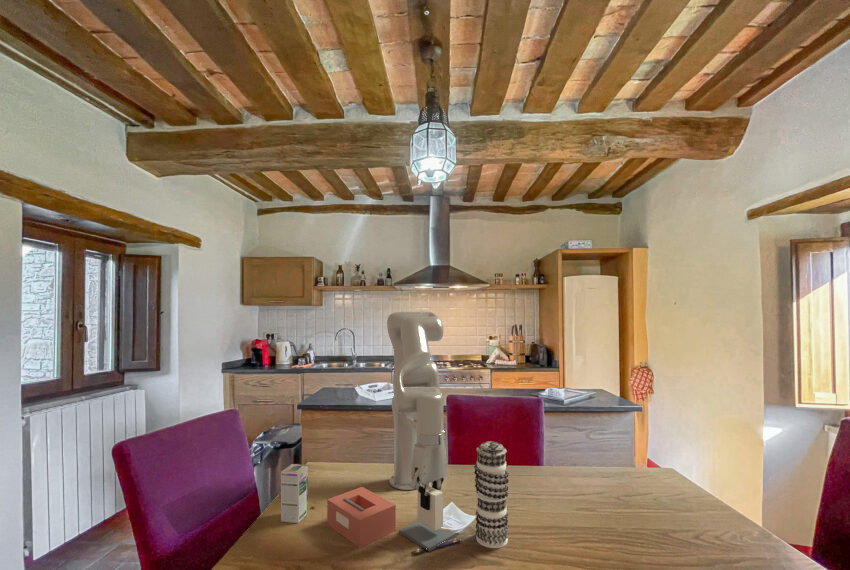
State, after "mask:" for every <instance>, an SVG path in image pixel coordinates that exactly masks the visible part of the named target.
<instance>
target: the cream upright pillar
mask: <svg viewBox="0 0 850 570" xmlns="http://www.w3.org/2000/svg"><path fill="white" fill-rule="evenodd" d="M424 486H425V485H423V488H424ZM428 494H429V495H430V510H426V509H424V508H422V507H421V506H420V493H419V492H418V491H417V503H416V504H417V508H416V509H417V512H416V513H417V516H416V517H417V520H416V521H419V522H421V523H423V524H424V525H426V526H428V527H430V528H432V529H434V530H437V529H439V528H441V527H443V522H444V492H443V491H441V490H437V489H434V488H432V486H430V485H429V493H428Z"/></svg>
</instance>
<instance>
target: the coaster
mask: <svg viewBox="0 0 850 570" xmlns="http://www.w3.org/2000/svg"><path fill="white" fill-rule="evenodd" d="M398 533H399V534H401V536H403V537H405V538H407V539H409V540H410V541H412V542H414V543H415V544H417V545H419V546H420V547H422V548H423V547H425V548H427V551H428V552H432V551H433V550H435V549H437V548H436V546H437V545H438V544H440V543H442V542H444V541H447V542H449V541H450V540H453V539H454V538H456V537H457V536H460V534H459V533H451V532H446V531H443V530H441V529H437V530H434V529H432V528H430V527H428V526H426V525H424V524H423V523H421V522H419V521H417V520H416V521H414V522H412V523H410V524H408V525H406V526H403V527H402V528H400V529H398ZM448 540H449V541H448ZM425 548H424V549H425Z"/></svg>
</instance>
